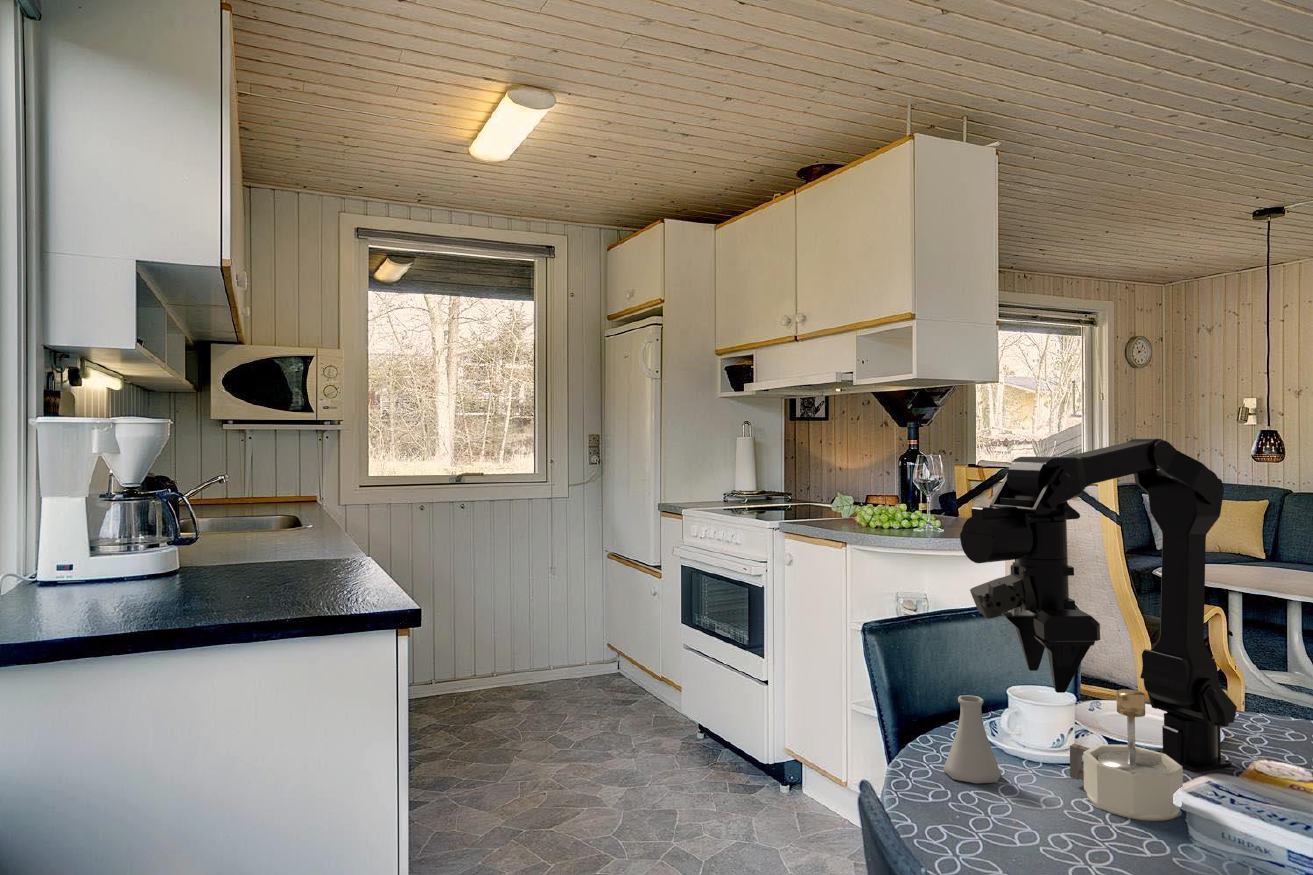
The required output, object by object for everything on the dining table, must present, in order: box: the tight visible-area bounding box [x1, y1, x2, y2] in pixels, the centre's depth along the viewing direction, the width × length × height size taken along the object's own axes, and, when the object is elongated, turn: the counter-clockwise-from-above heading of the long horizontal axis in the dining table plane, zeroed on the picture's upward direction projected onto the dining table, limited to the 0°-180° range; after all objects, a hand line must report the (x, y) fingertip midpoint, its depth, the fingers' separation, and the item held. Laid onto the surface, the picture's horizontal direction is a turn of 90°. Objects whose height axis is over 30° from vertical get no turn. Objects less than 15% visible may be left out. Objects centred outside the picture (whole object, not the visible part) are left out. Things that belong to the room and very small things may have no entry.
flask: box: [942, 694, 1002, 784], centre depth 110 cm, size 7×7×10 cm
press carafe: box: [1069, 743, 1184, 822], centre depth 101 cm, size 10×12×5 cm
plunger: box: [1098, 688, 1167, 774], centre depth 101 cm, size 7×7×9 cm
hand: (1046, 680), depth 104 cm, fingers open, 9 cm apart
